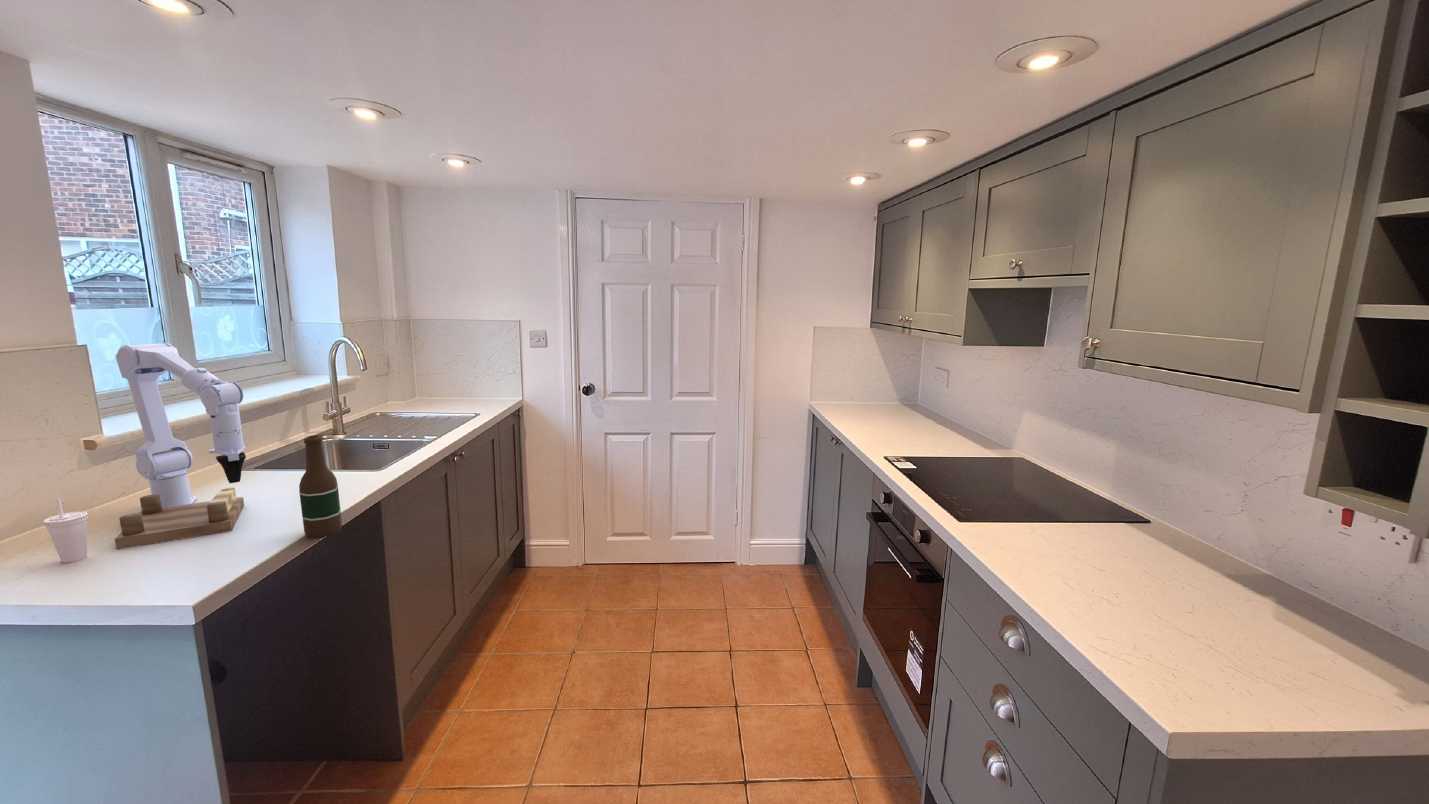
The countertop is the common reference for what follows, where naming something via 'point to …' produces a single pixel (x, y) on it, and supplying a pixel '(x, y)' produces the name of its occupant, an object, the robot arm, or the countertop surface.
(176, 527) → the stool seat
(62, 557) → the smoothie
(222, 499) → the oak leg
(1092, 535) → the countertop surface
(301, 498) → the beer bottle
